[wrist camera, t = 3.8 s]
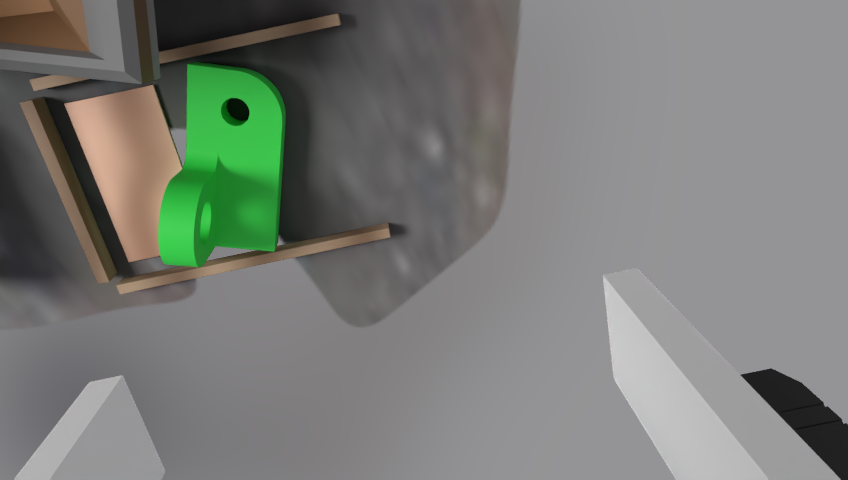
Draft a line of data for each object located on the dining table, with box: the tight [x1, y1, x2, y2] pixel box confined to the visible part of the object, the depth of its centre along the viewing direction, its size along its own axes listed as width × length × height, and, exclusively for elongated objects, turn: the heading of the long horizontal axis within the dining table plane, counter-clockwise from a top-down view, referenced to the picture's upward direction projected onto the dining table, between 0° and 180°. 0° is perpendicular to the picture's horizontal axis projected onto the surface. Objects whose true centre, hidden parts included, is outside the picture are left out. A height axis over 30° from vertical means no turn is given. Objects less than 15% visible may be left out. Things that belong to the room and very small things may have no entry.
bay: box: [20, 13, 390, 294], centre depth 42 cm, size 21×15×2 cm
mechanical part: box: [158, 62, 286, 267], centre depth 39 cm, size 12×6×8 cm, turn 172°
